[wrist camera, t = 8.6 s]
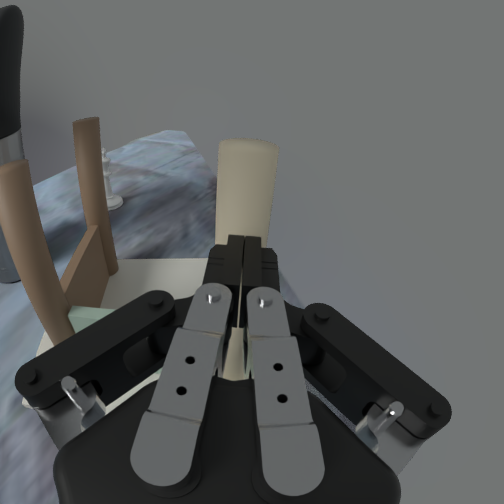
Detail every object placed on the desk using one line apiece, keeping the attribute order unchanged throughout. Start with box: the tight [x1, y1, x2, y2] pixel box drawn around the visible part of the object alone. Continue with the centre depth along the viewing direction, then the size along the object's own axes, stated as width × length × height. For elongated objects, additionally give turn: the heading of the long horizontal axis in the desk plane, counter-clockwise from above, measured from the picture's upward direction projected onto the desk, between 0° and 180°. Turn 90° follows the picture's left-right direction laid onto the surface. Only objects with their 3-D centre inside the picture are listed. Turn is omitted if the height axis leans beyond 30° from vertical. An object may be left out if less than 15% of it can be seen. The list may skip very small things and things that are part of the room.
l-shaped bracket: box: [68, 138, 279, 381], centre depth 17 cm, size 13×3×17 cm, turn 94°
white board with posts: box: [0, 117, 208, 415], centre depth 21 cm, size 20×20×18 cm
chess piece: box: [101, 148, 123, 211], centre depth 43 cm, size 5×5×10 cm
